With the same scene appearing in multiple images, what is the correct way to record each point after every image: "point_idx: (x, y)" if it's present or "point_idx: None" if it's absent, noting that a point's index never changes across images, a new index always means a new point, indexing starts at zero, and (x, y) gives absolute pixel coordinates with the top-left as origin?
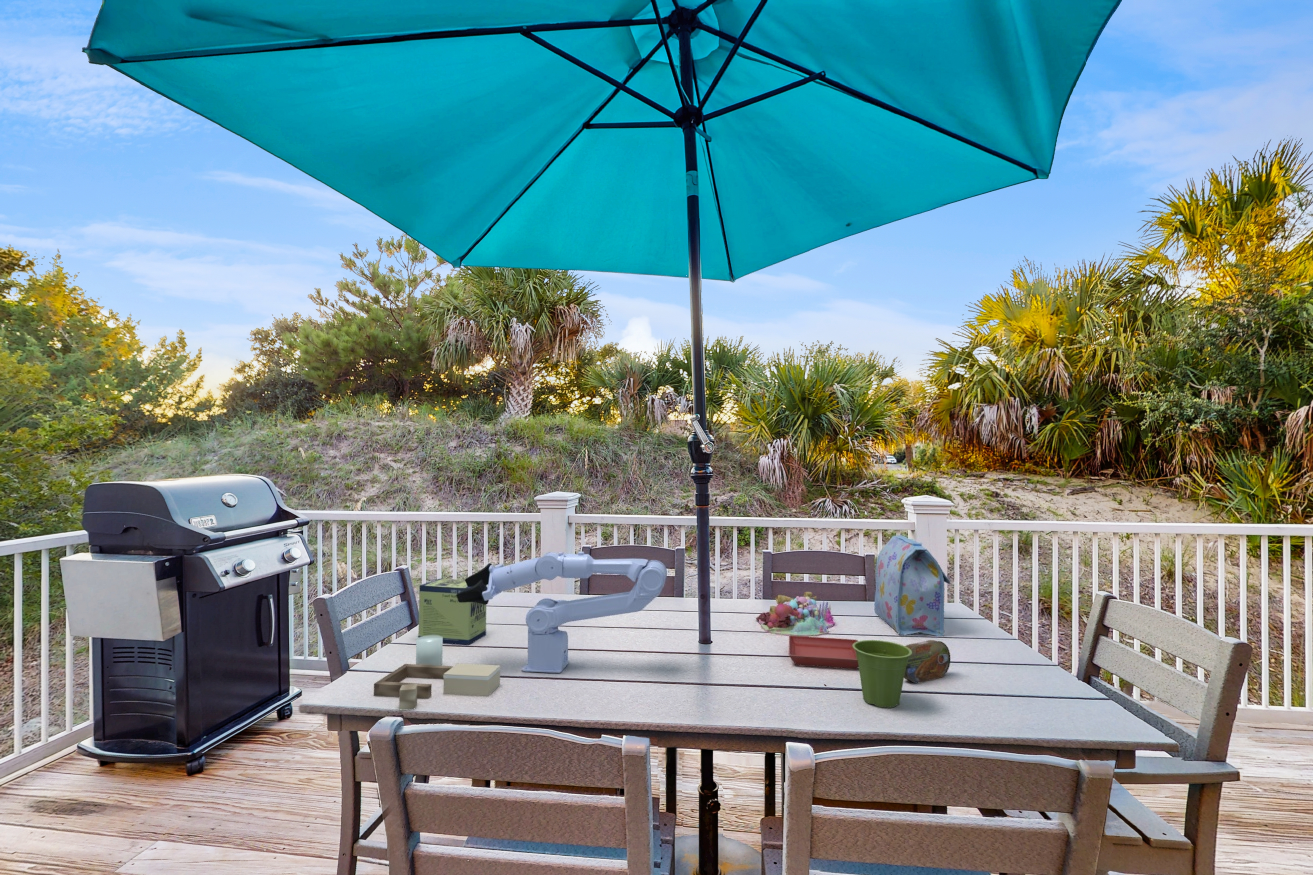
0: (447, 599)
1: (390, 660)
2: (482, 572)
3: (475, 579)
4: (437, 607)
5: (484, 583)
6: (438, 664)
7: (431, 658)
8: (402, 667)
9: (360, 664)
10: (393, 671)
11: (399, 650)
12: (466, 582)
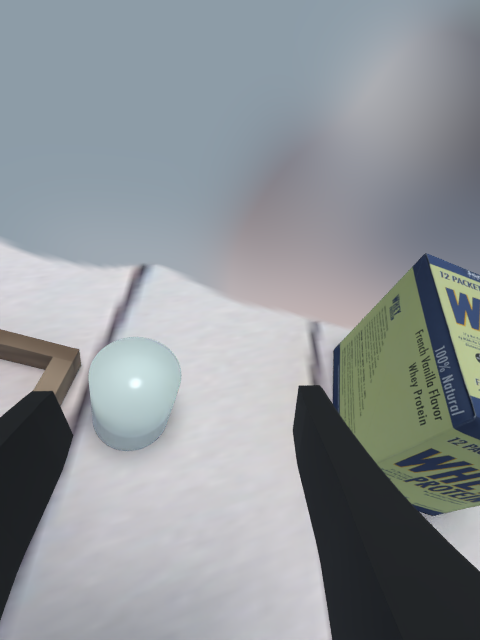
0: (412, 354)
1: (200, 319)
2: (366, 584)
3: (318, 485)
4: (388, 341)
5: (328, 602)
6: (106, 440)
7: (92, 412)
8: (43, 348)
9: (178, 274)
10: (10, 333)
11: (269, 325)
12: (298, 408)
